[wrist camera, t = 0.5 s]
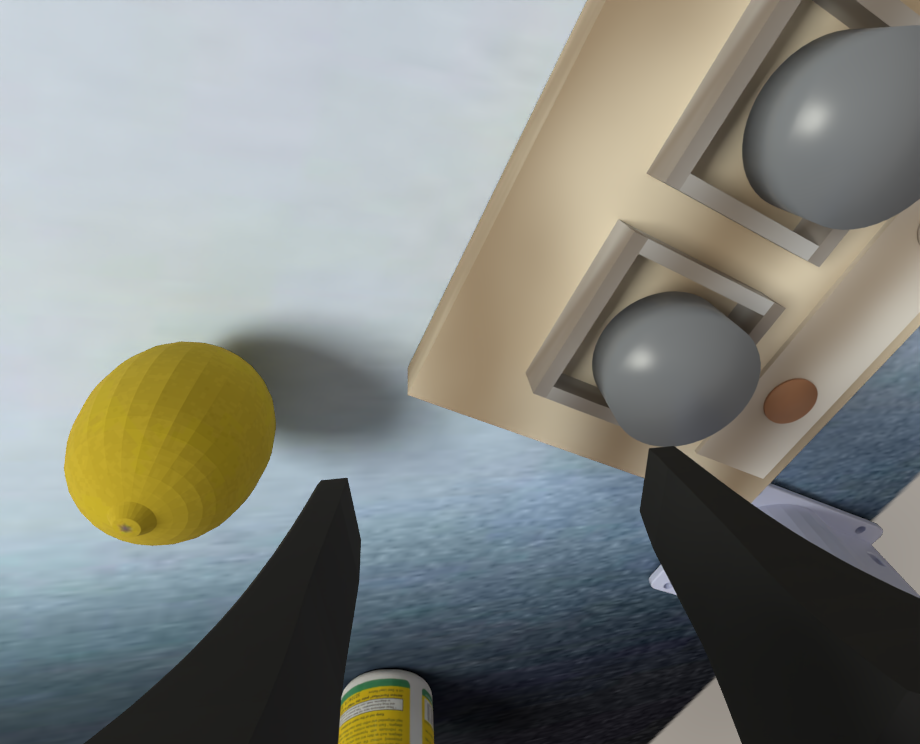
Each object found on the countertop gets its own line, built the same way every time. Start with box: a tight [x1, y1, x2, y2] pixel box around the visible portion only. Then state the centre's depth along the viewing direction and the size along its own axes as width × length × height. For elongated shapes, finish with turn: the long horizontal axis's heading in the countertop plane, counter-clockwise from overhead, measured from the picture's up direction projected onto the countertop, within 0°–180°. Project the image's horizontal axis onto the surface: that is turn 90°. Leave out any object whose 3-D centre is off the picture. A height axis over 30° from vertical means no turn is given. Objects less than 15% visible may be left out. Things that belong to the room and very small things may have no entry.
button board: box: [408, 0, 920, 503], centre depth 16 cm, size 16×26×3 cm, turn 154°
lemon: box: [64, 342, 276, 546], centre depth 17 cm, size 6×6×8 cm
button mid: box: [742, 25, 920, 230], centre depth 14 cm, size 4×4×2 cm
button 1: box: [592, 291, 761, 447], centre depth 17 cm, size 4×4×2 cm
